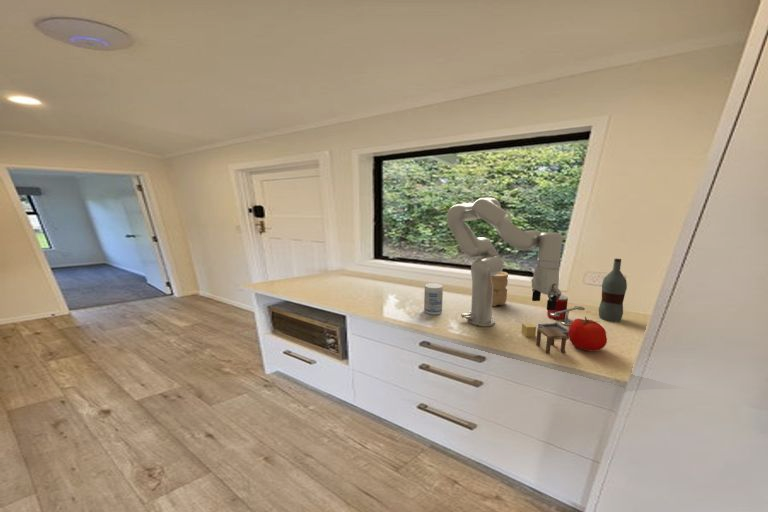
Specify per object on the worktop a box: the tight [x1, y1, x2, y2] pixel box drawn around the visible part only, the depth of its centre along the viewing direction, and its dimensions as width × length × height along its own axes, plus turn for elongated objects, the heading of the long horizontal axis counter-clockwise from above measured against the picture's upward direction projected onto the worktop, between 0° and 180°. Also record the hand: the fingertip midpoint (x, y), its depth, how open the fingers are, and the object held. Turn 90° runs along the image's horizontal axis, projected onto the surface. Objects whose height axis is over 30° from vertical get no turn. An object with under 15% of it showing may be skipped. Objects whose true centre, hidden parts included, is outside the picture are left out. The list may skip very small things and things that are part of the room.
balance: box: [550, 305, 585, 327], centre depth 131 cm, size 16×4×8 cm, turn 95°
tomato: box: [568, 316, 608, 352], centre depth 109 cm, size 12×13×12 cm
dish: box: [537, 322, 569, 338], centre depth 124 cm, size 9×9×2 cm
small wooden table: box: [535, 327, 568, 355], centre depth 110 cm, size 7×7×7 cm
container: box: [491, 270, 509, 307], centre depth 159 cm, size 13×13×18 cm
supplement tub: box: [423, 282, 444, 316], centre depth 148 cm, size 10×10×15 cm
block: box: [521, 322, 537, 338], centre depth 122 cm, size 4×4×4 cm
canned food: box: [546, 294, 569, 321], centre depth 139 cm, size 8×8×11 cm
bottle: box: [598, 258, 628, 323], centre depth 134 cm, size 9×9×30 cm
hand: (543, 305), depth 113 cm, fingers open, 9 cm apart
